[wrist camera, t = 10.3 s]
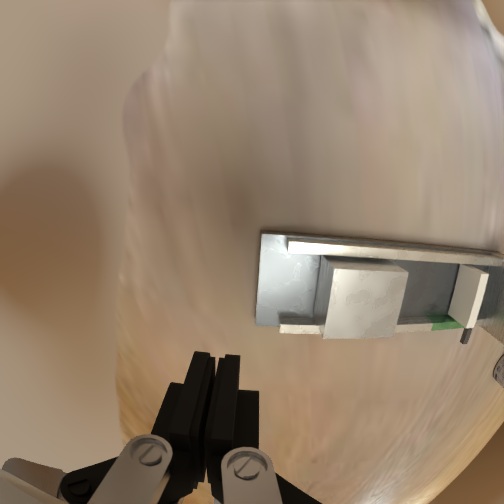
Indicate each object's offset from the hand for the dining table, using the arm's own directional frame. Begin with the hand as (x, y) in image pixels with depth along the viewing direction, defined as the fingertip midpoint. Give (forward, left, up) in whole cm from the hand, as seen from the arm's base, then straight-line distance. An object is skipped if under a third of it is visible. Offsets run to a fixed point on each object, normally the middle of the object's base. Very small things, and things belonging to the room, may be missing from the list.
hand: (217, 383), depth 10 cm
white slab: (+2, +22, -14) cm, 26 cm away
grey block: (+1, +10, -14) cm, 17 cm away
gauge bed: (+1, +15, -16) cm, 21 cm away
